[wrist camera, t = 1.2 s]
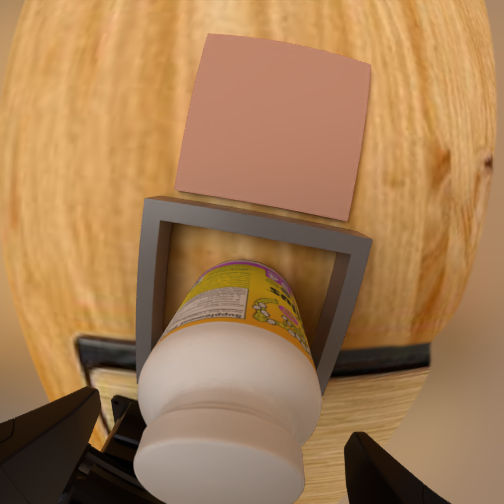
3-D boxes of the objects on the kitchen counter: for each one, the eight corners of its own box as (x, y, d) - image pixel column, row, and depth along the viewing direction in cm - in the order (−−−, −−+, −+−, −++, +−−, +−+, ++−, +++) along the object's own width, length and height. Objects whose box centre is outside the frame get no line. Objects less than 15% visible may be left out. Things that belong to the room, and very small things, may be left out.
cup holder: (309, 392, 20) (314, 414, 17) (148, 364, 20) (136, 383, 17) (357, 231, 17) (372, 239, 15) (160, 195, 17) (144, 198, 14)
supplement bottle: (303, 341, 19) (345, 516, 6) (207, 359, 19) (162, 526, 7) (283, 244, 17) (334, 386, 5) (176, 269, 18) (56, 408, 5)
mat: (344, 220, 17) (347, 221, 16) (177, 189, 17) (174, 190, 16) (367, 67, 15) (371, 64, 14) (209, 37, 14) (207, 33, 14)
